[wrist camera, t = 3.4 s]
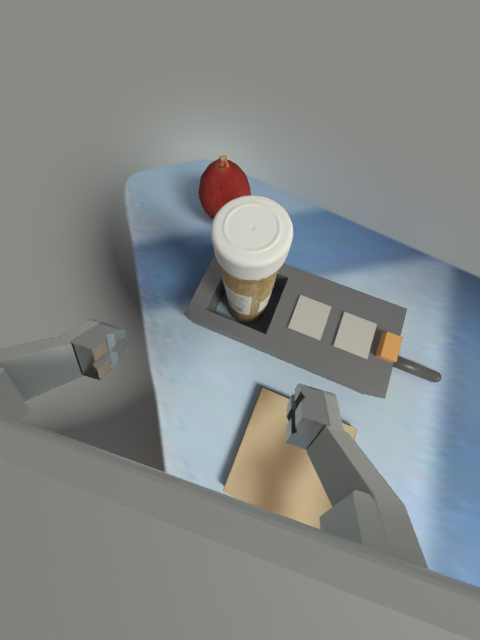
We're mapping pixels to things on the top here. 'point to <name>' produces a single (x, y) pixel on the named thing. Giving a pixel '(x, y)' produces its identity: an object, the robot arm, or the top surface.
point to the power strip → (318, 329)
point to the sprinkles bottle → (250, 251)
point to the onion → (221, 185)
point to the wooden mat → (277, 466)
